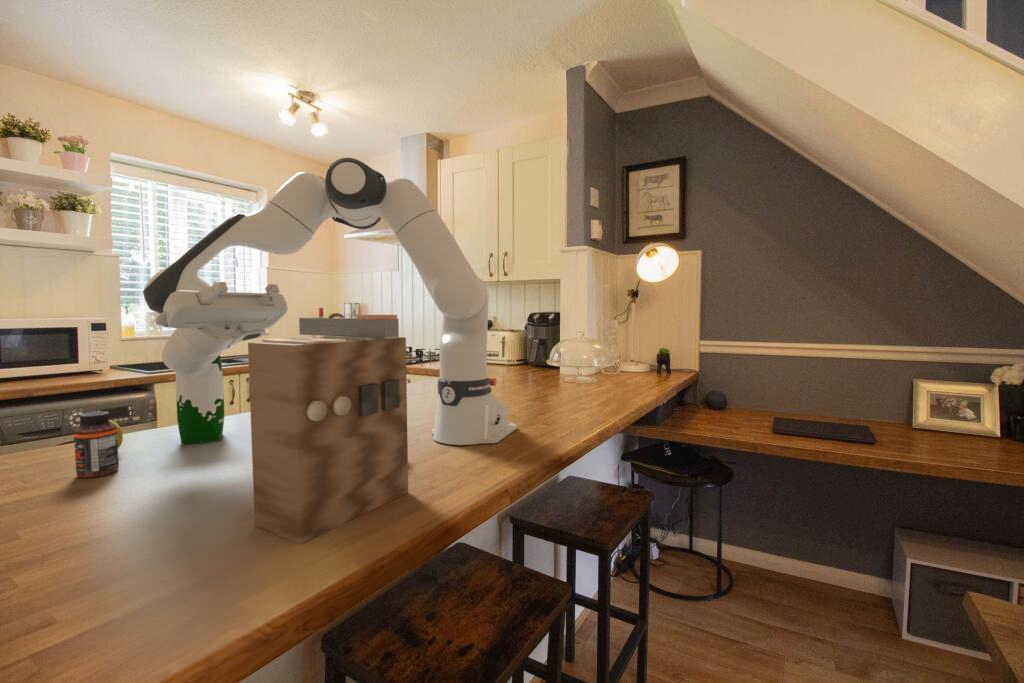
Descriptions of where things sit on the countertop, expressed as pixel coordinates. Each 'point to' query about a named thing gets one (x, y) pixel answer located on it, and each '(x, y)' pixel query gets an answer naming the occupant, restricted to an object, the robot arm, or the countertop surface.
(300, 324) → the paddle lever
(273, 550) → the countertop surface
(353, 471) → the panel block
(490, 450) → the countertop surface
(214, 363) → the milk carton
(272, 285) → the robot arm
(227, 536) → the countertop surface
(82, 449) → the supplement bottle
